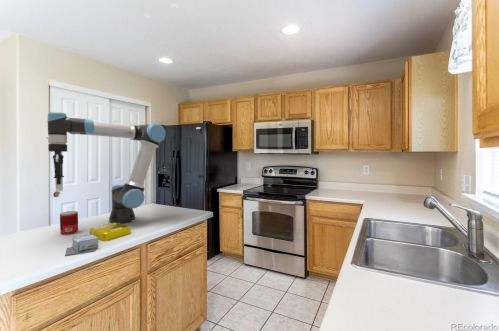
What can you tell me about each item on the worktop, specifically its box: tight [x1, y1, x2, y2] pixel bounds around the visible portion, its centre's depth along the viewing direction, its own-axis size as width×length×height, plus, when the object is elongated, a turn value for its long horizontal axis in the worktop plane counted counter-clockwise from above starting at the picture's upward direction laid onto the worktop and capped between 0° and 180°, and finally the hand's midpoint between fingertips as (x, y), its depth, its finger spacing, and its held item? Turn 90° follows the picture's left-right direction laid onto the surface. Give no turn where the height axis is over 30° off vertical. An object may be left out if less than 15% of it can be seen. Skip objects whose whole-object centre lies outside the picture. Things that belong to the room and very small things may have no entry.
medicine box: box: [71, 233, 99, 252], centre depth 115 cm, size 8×4×9 cm
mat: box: [64, 246, 96, 257], centre depth 113 cm, size 11×10×1 cm
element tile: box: [89, 223, 131, 242], centre depth 134 cm, size 15×15×5 cm
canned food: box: [59, 210, 79, 236], centre depth 137 cm, size 8×8×11 cm
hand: (59, 190), depth 127 cm, fingers closed
